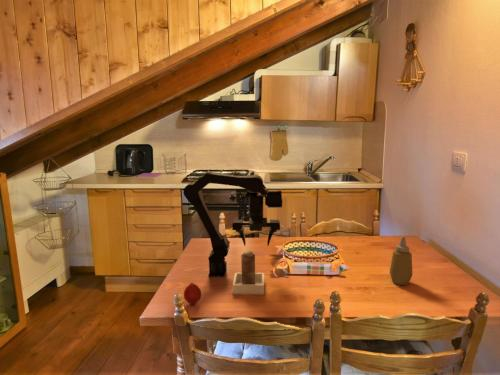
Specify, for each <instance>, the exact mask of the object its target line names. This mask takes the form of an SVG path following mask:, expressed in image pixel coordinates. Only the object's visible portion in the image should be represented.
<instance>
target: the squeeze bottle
mask: <svg viewBox="0 0 500 375" xmlns="http://www.w3.org/2000/svg"><path fill="white" fill-rule="evenodd" d="M391 255H392V256H391V260H390V261H391V262H390V267H389V275H390V278H391V281H392V283H394V284H395V285H399V286H408V285H409V283H410V281H411V279H412V277H413V259H412V258H413V256H412V253H411V252H410V246H409V245H407V241H406V236H401V237H400V240H399V244H396V245H395V249H394V251H393V252H392V254H391Z"/></svg>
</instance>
